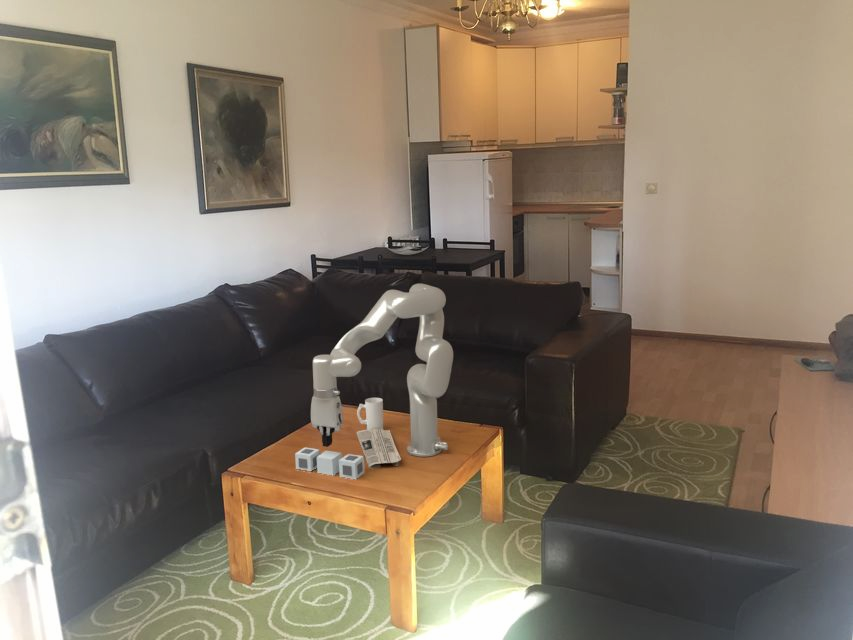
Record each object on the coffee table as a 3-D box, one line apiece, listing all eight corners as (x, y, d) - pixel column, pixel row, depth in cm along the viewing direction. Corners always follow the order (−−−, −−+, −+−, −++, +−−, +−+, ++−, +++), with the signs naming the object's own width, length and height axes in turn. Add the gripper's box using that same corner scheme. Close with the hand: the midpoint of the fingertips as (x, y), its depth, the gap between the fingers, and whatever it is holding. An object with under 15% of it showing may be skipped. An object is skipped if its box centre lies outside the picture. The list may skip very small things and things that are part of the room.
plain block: (342, 469, 249) (341, 452, 247) (333, 476, 243) (332, 459, 242) (326, 467, 251) (325, 450, 250) (317, 473, 246) (316, 457, 244)
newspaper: (356, 436, 280) (356, 427, 280) (388, 433, 283) (388, 424, 282) (369, 472, 247) (369, 462, 246) (406, 468, 249) (406, 458, 248)
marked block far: (321, 466, 252) (320, 449, 251) (311, 473, 246) (310, 455, 245) (305, 463, 254) (304, 446, 253) (295, 470, 249) (294, 453, 247)
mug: (383, 426, 289) (381, 397, 287) (384, 432, 282) (383, 402, 280) (357, 428, 288) (356, 398, 285) (358, 434, 281) (357, 404, 279)
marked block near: (364, 473, 245) (364, 455, 244) (355, 480, 240) (355, 462, 238) (348, 470, 248) (347, 453, 246) (339, 477, 242) (338, 460, 241)
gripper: (350, 391, 242) (352, 444, 245) (312, 387, 248) (314, 438, 251) (339, 398, 235) (341, 452, 239) (299, 393, 241) (302, 446, 244)
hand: (327, 445), depth 245 cm, fingers closed
